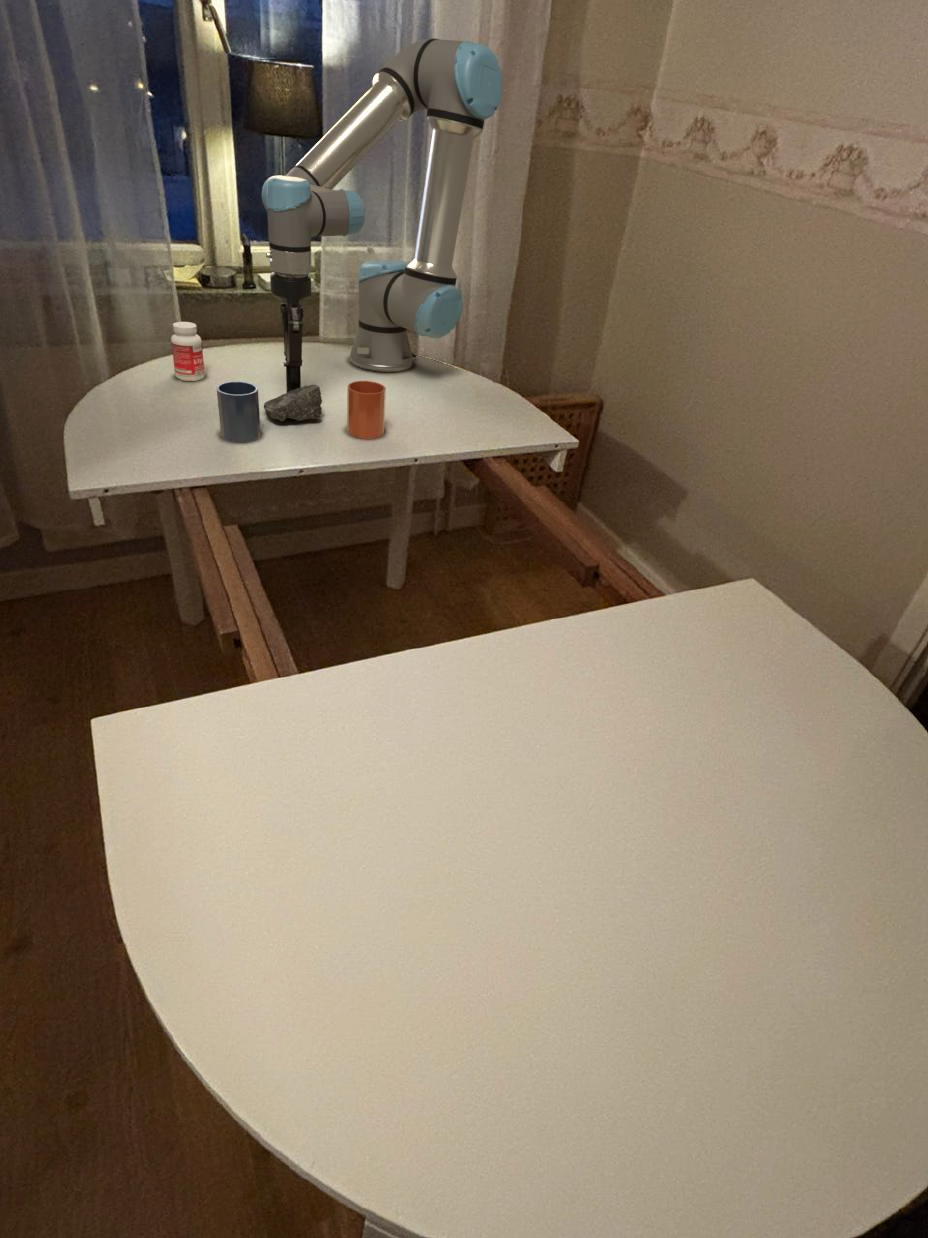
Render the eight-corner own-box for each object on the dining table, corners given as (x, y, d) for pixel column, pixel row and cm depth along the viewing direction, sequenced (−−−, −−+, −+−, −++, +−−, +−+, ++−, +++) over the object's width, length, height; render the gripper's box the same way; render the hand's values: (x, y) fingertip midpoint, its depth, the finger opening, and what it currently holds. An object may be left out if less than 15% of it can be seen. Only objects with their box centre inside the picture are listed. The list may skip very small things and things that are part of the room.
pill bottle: (199, 383, 159) (194, 330, 152) (171, 379, 159) (164, 326, 152) (209, 373, 164) (204, 322, 157) (181, 370, 164) (175, 318, 157)
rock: (262, 410, 151) (260, 381, 147) (317, 407, 154) (316, 379, 150) (269, 428, 144) (267, 399, 140) (326, 425, 148) (325, 397, 144)
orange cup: (379, 424, 151) (380, 380, 146) (387, 438, 146) (389, 393, 140) (344, 424, 149) (344, 380, 144) (351, 439, 144) (351, 394, 138)
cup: (258, 426, 144) (255, 381, 138) (262, 441, 138) (259, 394, 133) (219, 427, 141) (215, 381, 136) (222, 443, 136) (217, 395, 131)
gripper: (266, 263, 141) (271, 385, 155) (273, 280, 132) (278, 408, 146) (306, 265, 144) (307, 385, 158) (316, 282, 134) (317, 408, 148)
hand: (293, 396), depth 152 cm, fingers closed
